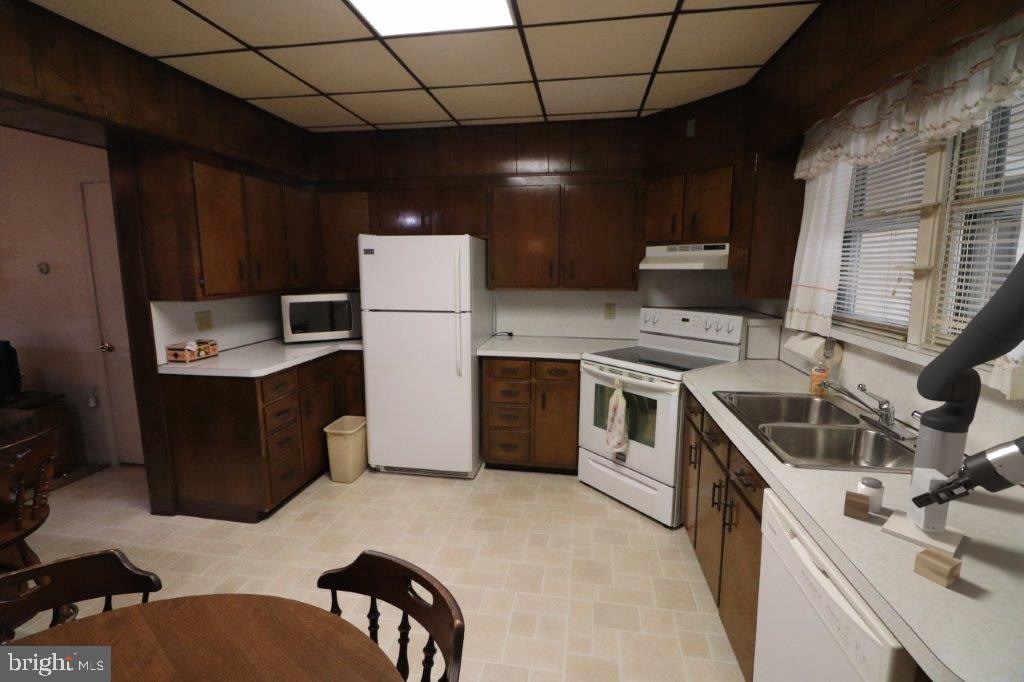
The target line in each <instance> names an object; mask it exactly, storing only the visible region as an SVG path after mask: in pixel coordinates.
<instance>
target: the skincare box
mask: <svg viewBox="0 0 1024 682" xmlns="http://www.w3.org/2000/svg"><path fill="white" fill-rule="evenodd" d="M947 479H949V478H947V477H946V476H944V475H943V474H941V473H940V472H938V471H937V470H935V469H927V468H914V472H913V479H912V485H911V484H910V491H909V492H910V493H909V499H908V505H907V511H906V512H907V517H908V518H909V519H910V520H912V521H913V522H914V523H915V524H916V525H917V526H918V527H920V528H921V529H922V530H925V531H935V532H944V531H945V525H946V524H947V518H948V514H949V513H948V512H949V505H950V501H949V502H946V503H944V504H942V505H939V504H938V503H937V502H936V503H933V504H930V505H928V506H925V507H922V508H918V507H917V506H916V505H915V504H914V503H913V501H912V498H913V497H916V496H919V495H921V494H924V493H926V492H929V491H930V490H933V489H935V488H937V487H938V484H939V483H941V482H943V481H945V480H947ZM945 486H946V485H945ZM946 487H947V486H946ZM938 495H939V496H940V497H941V498H942V497H944V496H945V494H944V493H939V494H938Z"/></svg>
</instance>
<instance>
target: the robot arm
mask: <svg viewBox="0 0 1024 682" xmlns="http://www.w3.org/2000/svg"><path fill="white" fill-rule="evenodd" d="M1023 341H1024V252H1023V253H1022V255H1021V257H1020V258H1019V259H1018V261H1017V262H1016V264H1015V265H1014V267H1013V268H1012V270H1011V272H1009V274H1008V276H1007V277H1006V278H1005V280H1004V281H1003V283H1002V284H1001V286H999V287H998V289H997V290H996V292H995V293H994V294H993V295H992V297H991V298H990V299H989V300H988V301H987V303H986V304H985V305H984V306H983V307H982V308H981V309H980V310H979V311H978V312H977V313H976V314H975V315H974V316H973V318H971V320H970V321H969V322H968V323H967V325H966V326H965V327H964V329H963V330H962V331H961V332H960V334H958V335H957V337H955V339H954V340H953V341H952V342H951V343H950V344H949V345H948V346H947V347H946V348H945V349H944V350H942V351H941V353H939V355H937V356H936V357H935V358H934V359H933V360H931V361H930V362H929V363H928V364H926V366H924V367H923V369H922V370H921V371H920V373H919V375H918V376H917V381H916V390H917V392H918V394H919V395H920V396H921V397H922V398H924V399H925V400H929V401H934V402H941V403H942V402H944V403H943V404H942V405H941V406H940V405H939V406H938V407H935V408H933V409H929V410H925V411H924V412H922V414H921V415H920V421H919V426H918V427H919V428H918V433H917V434H918V435H917V439H916V447H915V452H914V453H915V454H914V458H913V465H912V471H911V475H910V477H911V478H910V486H911V485H912V479H913V472H914V468H927V469H935V470H937V471H938V472H940V473H941V474H943V475H944V476H946V477H947V478H949V479H947V480H945V481H943V482H941V483H939V484H938V487H937V488H935V489H933V490H930V491H929V492H926V493H924V494H921V495H919V496H916V497H913V498H912V501H913V503H914V504H915V505H916V506H917V507H918V508H922V507H925V506H928V505H930V504H933V503H936V502H937V503H938V504H939V505H942V504H944V503H946V502H949V503H950V502H952V501H954V500H959V499H961V498H964V497H968V496H969V495H970V494H971V493H973V492H974V491H975V489H976V488H977V487H978V486H979V487H981V488H983V489H984V490H986V491H987V492H989V493H993V494H994V493H995V494H996V493H999V492H1001V491H1004V490H1007V489H1010V488H1013V487H1016V486H1018V485H1021V484H1024V435H1023V436H1020V437H1018V438H1015V439H1012V440H1008V441H1006V442H1002V443H999V444H997V445H994V446H991V447H989V448H986V449H984V450H982V451H981V450H980V451H979V452H977V453H974V454H972V455H969V456H967V457H966V456H965V450H966V447H967V445H966V444H967V441H968V440H967V439H968V433H969V428H970V426H971V424H972V423H973V421H974V419H975V415H976V411H977V406H978V403H979V400H980V395H981V389H982V381H981V380H982V379H981V376H980V374H979V372H978V371H977V370H976V369H975V367H978V366H981V365H984V364H985V363H988V362H991V361H994V360H996V359H998V358H1001V357H1003V356H1005V355H1008V354H1009V353H1011V352H1012V351H1013V350H1014V349H1016V348H1017V347H1019V345H1020V344H1021V343H1023ZM964 456H965V458H964ZM963 465H964V466H963ZM962 466H963V467H962ZM945 485H946V486H947V487H946V486H945ZM974 488H975V489H974ZM939 493H944V494H945V496H944V497H942V498H941V497H940V496H939V495H938V494H939Z"/></svg>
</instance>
